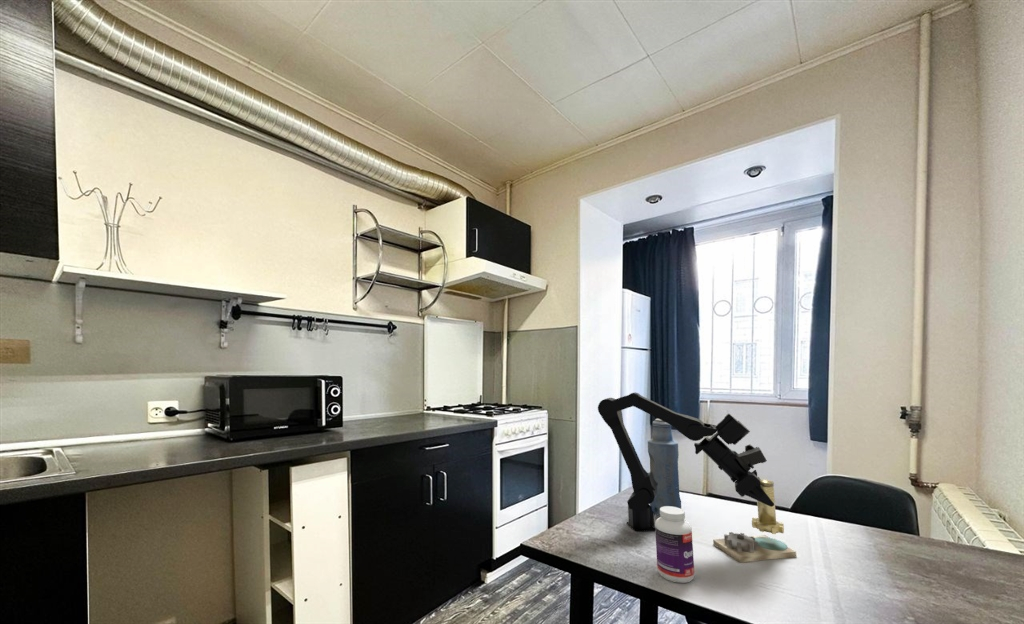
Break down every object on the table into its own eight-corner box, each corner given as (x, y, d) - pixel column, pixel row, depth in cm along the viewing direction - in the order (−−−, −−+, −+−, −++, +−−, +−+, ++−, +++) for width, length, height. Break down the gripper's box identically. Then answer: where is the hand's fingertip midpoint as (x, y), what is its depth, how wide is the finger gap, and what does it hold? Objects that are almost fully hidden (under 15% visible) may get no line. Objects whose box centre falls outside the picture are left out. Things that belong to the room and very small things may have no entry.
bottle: (647, 506, 137) (642, 417, 141) (677, 507, 136) (671, 417, 140) (654, 517, 128) (649, 421, 132) (686, 518, 127) (680, 421, 131)
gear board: (739, 562, 99) (738, 545, 99) (713, 544, 108) (712, 529, 109) (799, 556, 101) (797, 540, 102) (768, 539, 111) (767, 524, 112)
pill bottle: (692, 589, 87) (687, 519, 89) (654, 578, 91) (650, 512, 93) (697, 572, 94) (693, 507, 96) (661, 563, 98) (658, 502, 100)
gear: (776, 536, 101) (773, 487, 103) (746, 526, 107) (743, 480, 109) (789, 529, 105) (785, 482, 107) (759, 520, 111) (756, 475, 113)
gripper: (747, 442, 103) (803, 494, 96) (741, 431, 119) (789, 474, 113) (714, 471, 105) (767, 522, 99) (713, 456, 122) (758, 499, 116)
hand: (771, 503), depth 107 cm, fingers closed on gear, 4 cm apart
